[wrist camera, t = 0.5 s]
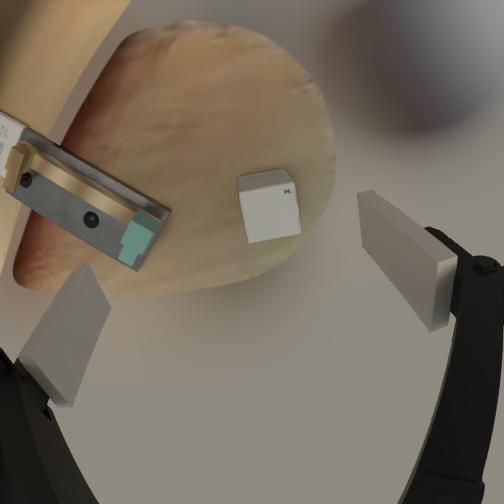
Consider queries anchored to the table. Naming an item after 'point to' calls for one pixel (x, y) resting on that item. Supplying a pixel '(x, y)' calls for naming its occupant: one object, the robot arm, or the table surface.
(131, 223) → the block
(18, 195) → the bolt plate
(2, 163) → the external hard drive
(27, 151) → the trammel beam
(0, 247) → the table surface
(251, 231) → the product box
